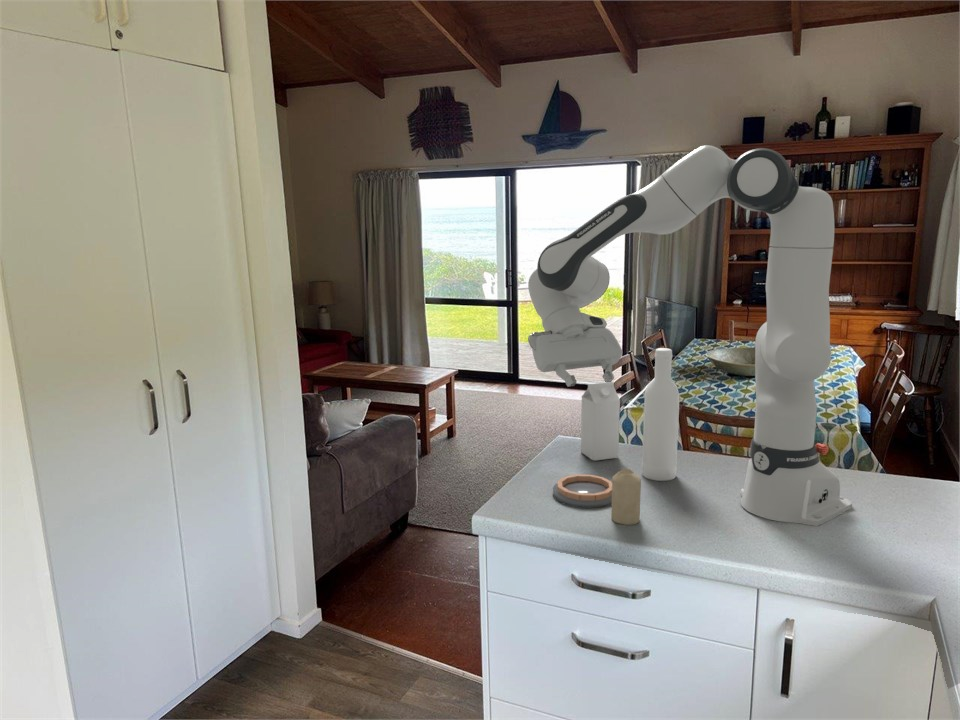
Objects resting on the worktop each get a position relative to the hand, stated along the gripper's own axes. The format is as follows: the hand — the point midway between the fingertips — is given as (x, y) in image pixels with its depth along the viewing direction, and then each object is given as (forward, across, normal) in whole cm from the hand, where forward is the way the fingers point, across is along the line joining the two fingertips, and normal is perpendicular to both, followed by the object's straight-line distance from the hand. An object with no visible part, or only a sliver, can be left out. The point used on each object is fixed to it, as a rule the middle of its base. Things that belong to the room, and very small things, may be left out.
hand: (591, 382), depth 138 cm
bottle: (+16, +22, +20) cm, 34 cm away
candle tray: (+17, 0, +19) cm, 25 cm away
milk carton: (+3, +18, +33) cm, 38 cm away
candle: (+27, 0, +9) cm, 29 cm away
